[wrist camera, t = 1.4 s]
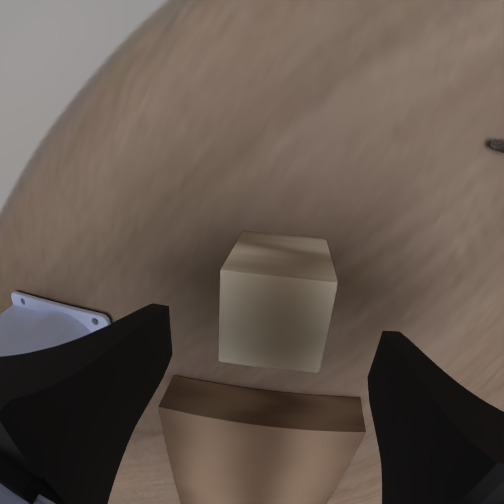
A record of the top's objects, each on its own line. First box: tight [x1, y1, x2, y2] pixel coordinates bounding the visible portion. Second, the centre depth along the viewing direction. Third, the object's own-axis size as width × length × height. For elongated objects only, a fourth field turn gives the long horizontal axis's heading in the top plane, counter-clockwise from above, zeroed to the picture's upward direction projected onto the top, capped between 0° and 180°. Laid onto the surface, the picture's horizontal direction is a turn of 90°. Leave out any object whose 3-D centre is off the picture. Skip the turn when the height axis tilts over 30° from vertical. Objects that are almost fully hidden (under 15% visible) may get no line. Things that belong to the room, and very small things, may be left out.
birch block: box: [219, 231, 338, 373], centre depth 14 cm, size 4×4×5 cm
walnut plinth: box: [158, 375, 366, 504], centre depth 20 cm, size 12×16×3 cm
